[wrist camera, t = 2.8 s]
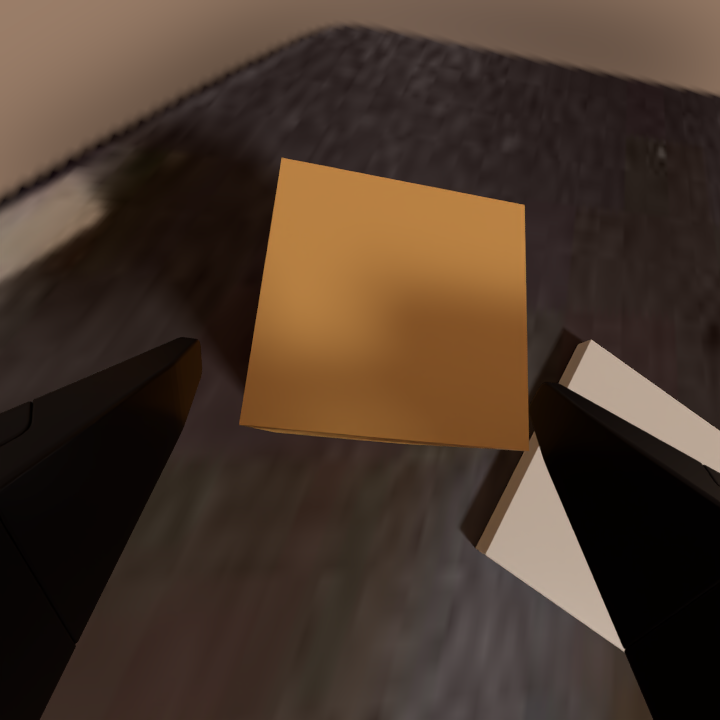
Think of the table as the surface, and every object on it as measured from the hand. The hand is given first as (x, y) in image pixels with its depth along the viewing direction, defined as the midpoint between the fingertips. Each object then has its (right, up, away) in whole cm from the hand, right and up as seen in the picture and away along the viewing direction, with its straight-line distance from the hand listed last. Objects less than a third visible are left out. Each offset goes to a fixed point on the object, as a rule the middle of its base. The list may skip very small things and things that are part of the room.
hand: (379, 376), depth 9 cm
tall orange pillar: (-1, -1, +9) cm, 9 cm away
